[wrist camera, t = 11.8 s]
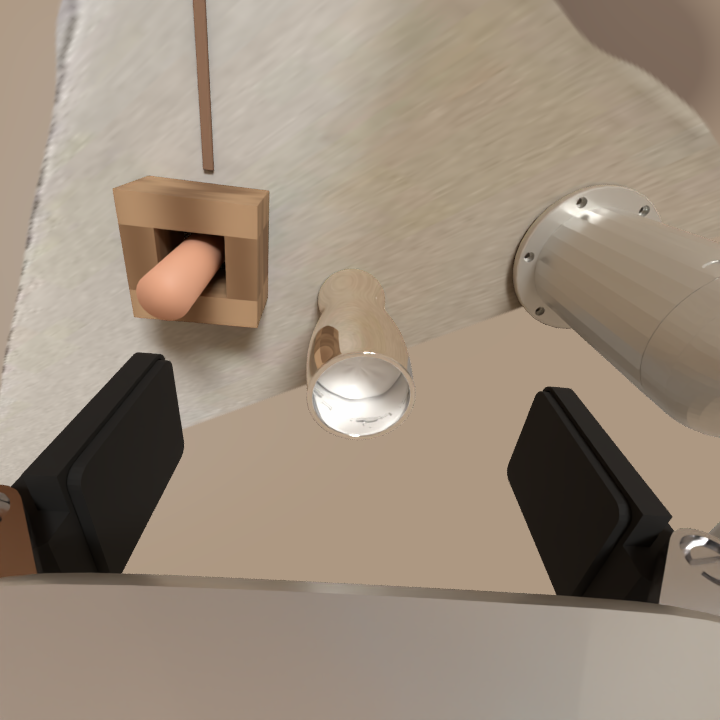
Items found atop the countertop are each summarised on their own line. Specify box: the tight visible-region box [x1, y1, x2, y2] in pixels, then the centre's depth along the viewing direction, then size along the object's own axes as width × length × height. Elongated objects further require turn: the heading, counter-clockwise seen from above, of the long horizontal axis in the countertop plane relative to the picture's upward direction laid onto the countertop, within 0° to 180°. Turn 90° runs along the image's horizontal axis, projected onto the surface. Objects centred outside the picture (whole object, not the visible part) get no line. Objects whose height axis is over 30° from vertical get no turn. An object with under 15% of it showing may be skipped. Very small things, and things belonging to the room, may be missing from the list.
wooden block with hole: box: [113, 176, 269, 328], centre depth 31 cm, size 9×9×6 cm
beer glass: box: [306, 269, 416, 440], centre depth 31 cm, size 7×7×15 cm
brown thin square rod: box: [193, 0, 214, 170], centre depth 28 cm, size 1×10×1 cm, turn 173°
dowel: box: [136, 233, 225, 321], centre depth 29 cm, size 3×3×12 cm
